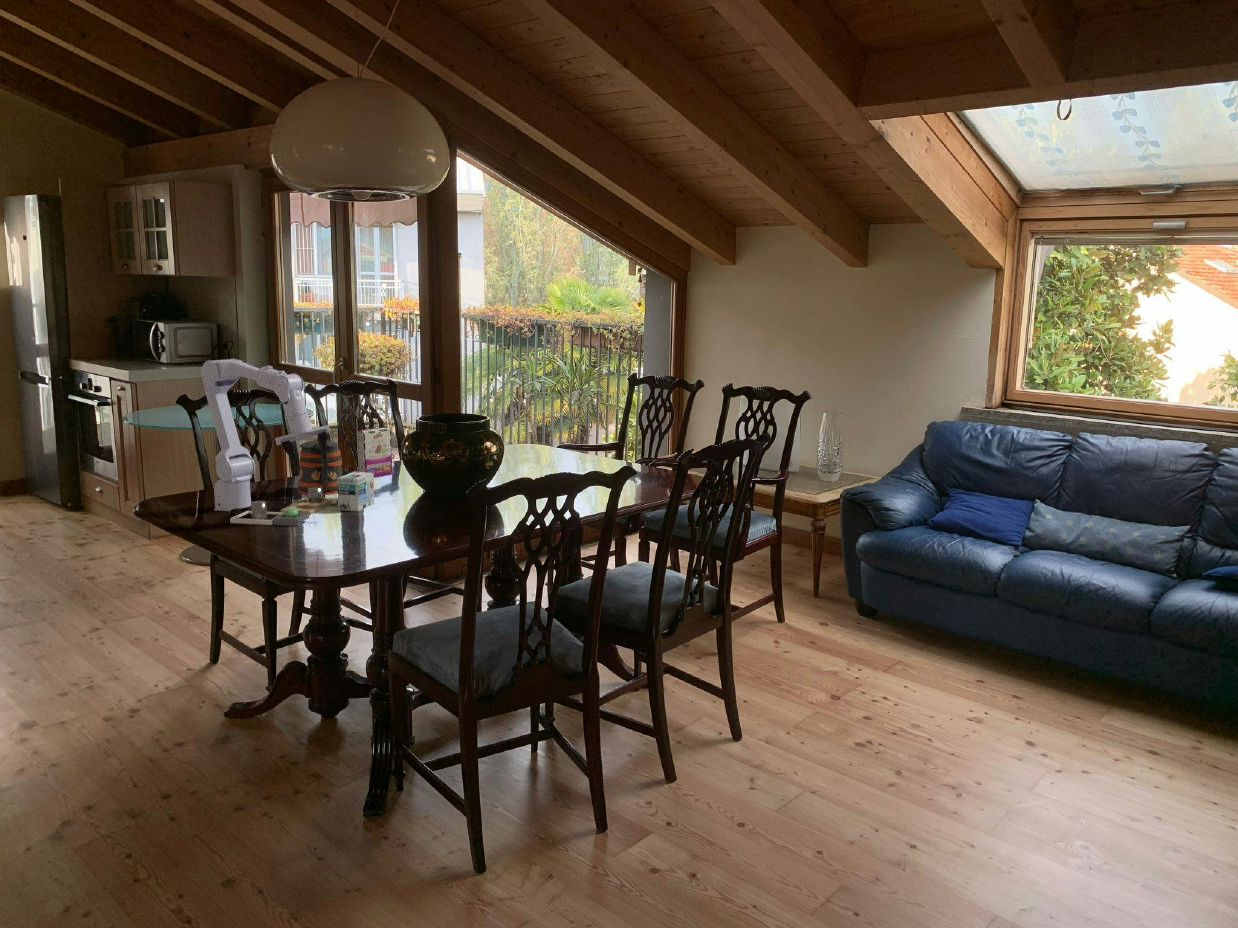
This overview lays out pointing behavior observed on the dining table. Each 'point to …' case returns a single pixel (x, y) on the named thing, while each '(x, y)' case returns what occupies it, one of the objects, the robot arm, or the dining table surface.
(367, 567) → the dining table surface
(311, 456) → the grey orange striped backpack
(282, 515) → the console
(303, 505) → the pallet board
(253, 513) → the billet
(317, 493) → the billet
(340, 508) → the light bulb box
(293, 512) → the button
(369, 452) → the candy bar box
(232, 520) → the white rectangular frame
